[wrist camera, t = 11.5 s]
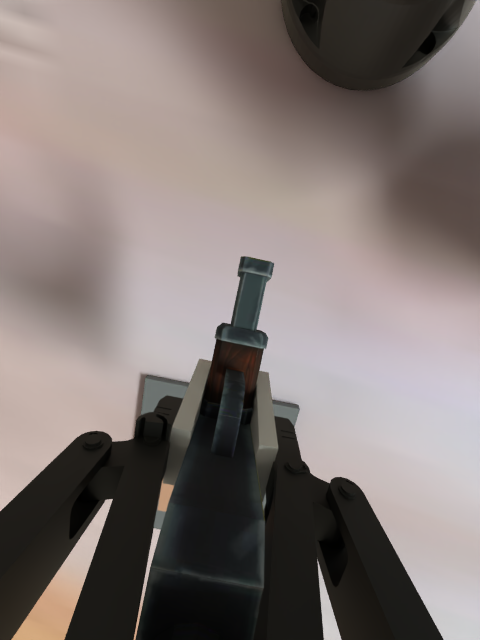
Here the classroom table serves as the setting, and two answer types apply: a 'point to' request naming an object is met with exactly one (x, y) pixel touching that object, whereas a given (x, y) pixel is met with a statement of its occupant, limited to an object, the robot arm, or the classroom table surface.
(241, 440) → the gun
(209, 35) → the classroom table surface
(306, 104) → the classroom table surface
